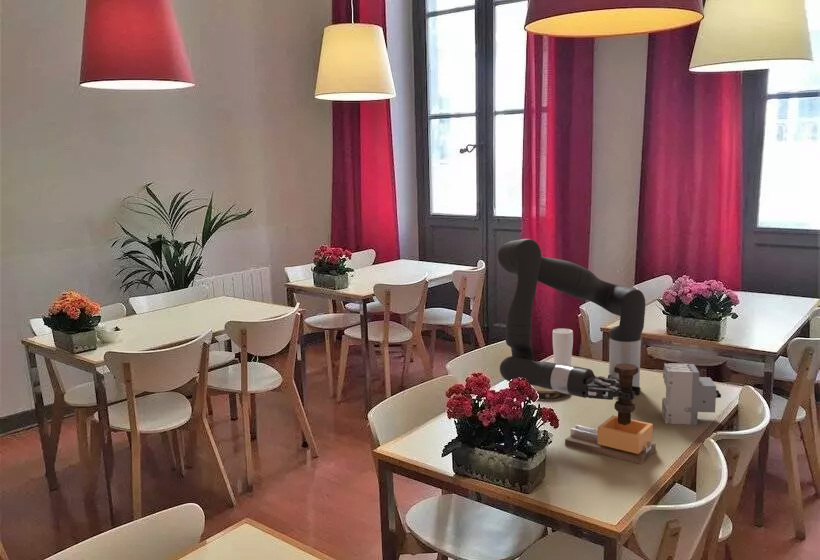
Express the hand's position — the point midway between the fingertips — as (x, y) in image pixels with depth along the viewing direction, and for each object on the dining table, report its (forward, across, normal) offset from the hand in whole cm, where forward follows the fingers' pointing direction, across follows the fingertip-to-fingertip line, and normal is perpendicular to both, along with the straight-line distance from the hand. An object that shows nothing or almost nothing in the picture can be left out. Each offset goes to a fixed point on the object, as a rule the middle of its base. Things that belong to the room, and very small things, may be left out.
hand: (636, 393), depth 171 cm
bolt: (-3, 0, +9) cm, 9 cm away
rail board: (-6, 0, +16) cm, 17 cm away
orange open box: (-2, 0, +13) cm, 14 cm away
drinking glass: (-44, +48, +16) cm, 67 cm away
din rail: (-6, 0, +14) cm, 16 cm away
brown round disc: (-40, +29, +17) cm, 52 cm away
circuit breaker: (+4, +30, +16) cm, 34 cm away
